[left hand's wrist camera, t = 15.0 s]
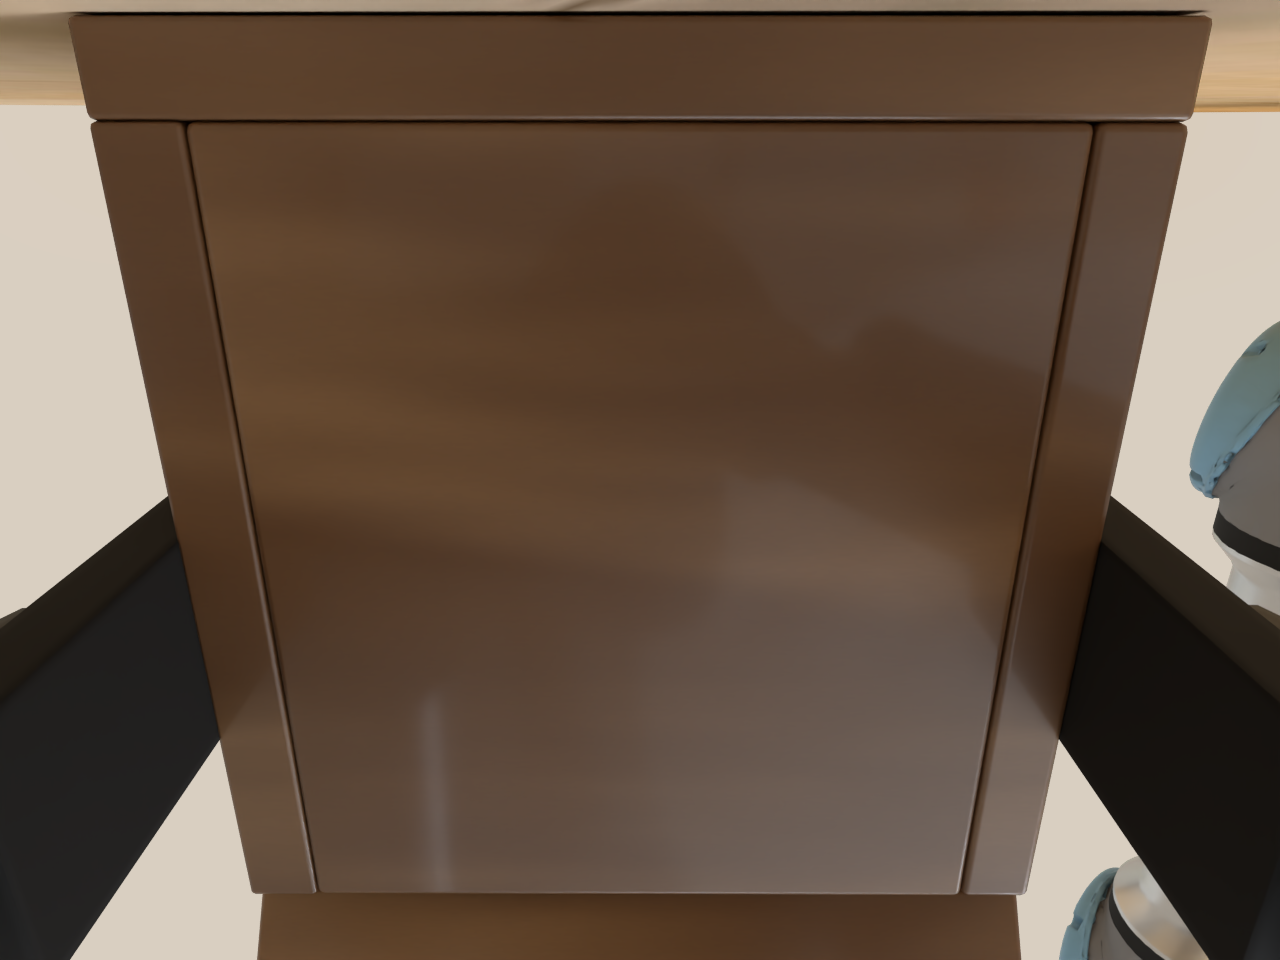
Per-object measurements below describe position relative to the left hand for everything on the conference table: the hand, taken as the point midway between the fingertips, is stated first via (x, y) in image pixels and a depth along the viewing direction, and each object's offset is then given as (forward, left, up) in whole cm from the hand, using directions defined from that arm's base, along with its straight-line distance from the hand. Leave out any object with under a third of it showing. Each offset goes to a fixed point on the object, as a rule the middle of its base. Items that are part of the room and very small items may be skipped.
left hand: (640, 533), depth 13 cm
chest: (+4, -2, -7) cm, 8 cm away
